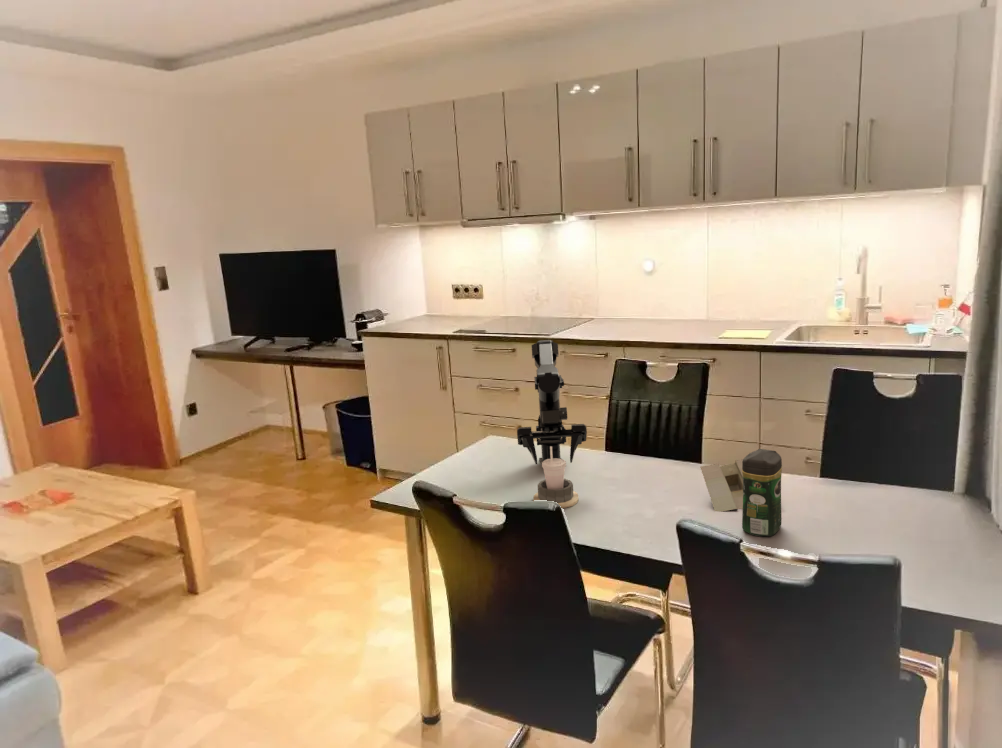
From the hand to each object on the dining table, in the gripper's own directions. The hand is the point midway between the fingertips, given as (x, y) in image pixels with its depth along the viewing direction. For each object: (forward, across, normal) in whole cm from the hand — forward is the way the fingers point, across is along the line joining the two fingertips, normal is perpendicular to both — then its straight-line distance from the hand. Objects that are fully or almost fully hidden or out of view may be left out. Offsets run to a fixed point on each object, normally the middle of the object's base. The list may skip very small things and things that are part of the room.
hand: (553, 462), depth 189 cm
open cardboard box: (+13, +46, +2) cm, 48 cm away
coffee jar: (+25, +46, -11) cm, 54 cm away
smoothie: (+8, 0, +5) cm, 9 cm away
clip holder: (+8, 0, +6) cm, 10 cm away
